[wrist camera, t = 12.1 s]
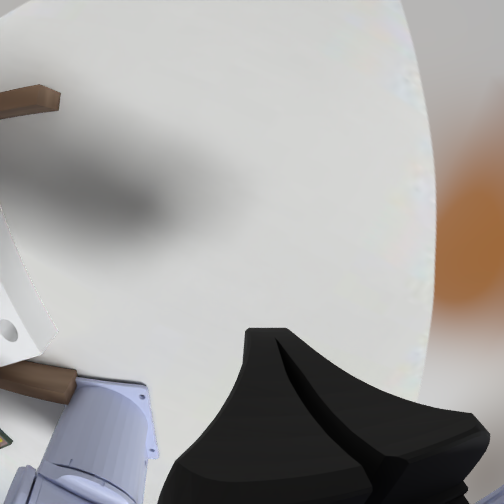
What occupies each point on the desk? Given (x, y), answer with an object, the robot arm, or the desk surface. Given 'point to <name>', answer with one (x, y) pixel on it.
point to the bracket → (20, 306)
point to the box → (23, 372)
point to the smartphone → (4, 440)
